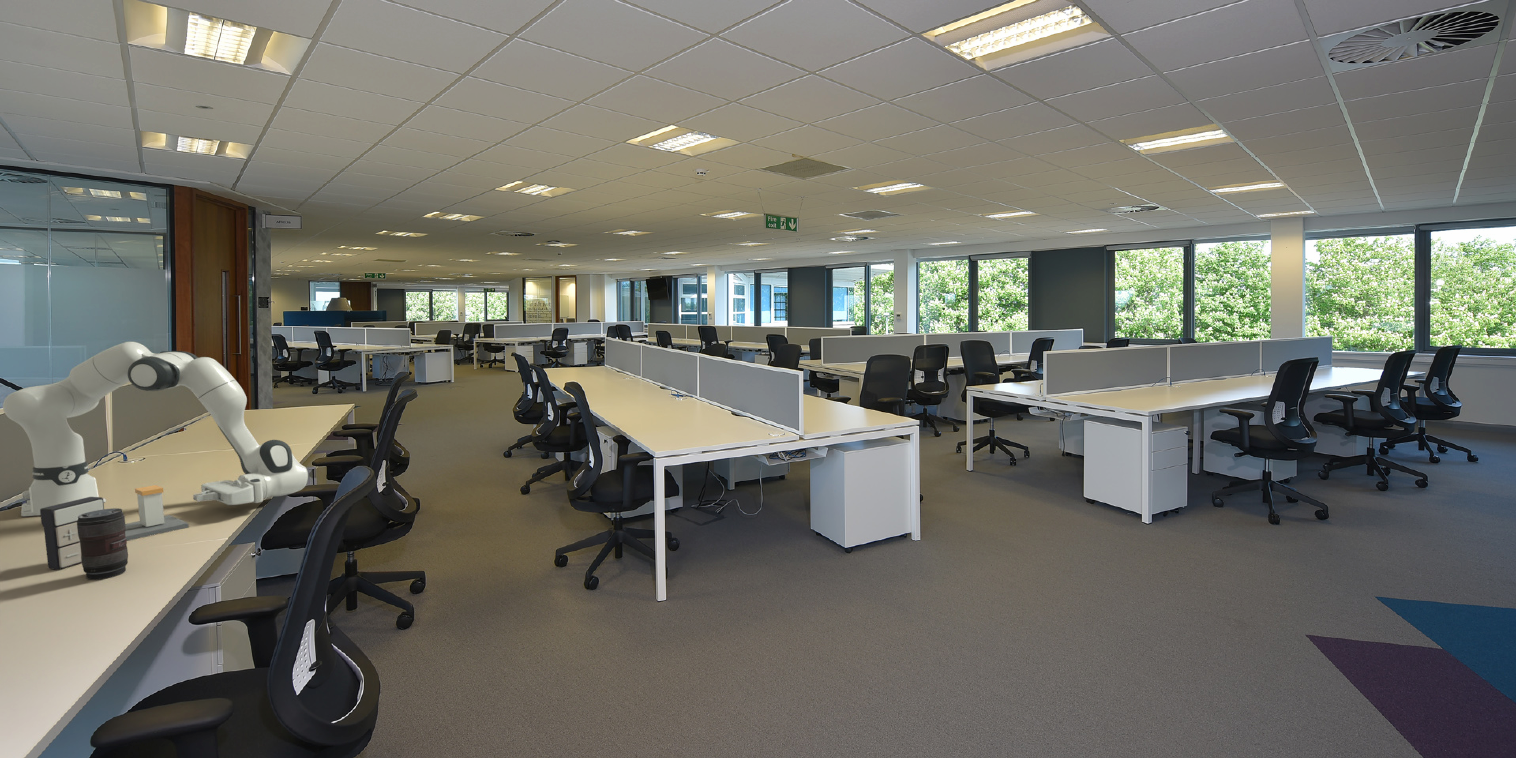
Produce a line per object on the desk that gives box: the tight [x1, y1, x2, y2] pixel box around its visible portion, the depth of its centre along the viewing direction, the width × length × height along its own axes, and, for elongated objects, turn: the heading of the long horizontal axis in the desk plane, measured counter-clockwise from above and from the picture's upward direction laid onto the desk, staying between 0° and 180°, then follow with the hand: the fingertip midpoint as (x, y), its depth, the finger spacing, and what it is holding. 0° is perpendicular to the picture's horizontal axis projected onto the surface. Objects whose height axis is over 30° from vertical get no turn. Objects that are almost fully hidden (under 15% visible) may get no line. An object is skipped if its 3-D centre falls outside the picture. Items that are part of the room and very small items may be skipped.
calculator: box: [39, 496, 105, 571], centre depth 168 cm, size 11×4×15 cm, turn 168°
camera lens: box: [77, 507, 129, 581], centre depth 161 cm, size 8×8×15 cm
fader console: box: [125, 514, 190, 541], centre depth 189 cm, size 14×24×1 cm, turn 148°
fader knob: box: [134, 484, 165, 527], centre depth 193 cm, size 6×5×10 cm
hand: (195, 498), depth 202 cm, fingers closed
